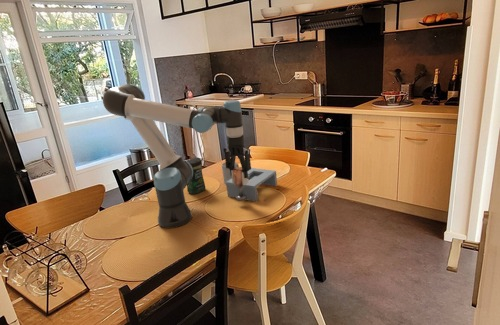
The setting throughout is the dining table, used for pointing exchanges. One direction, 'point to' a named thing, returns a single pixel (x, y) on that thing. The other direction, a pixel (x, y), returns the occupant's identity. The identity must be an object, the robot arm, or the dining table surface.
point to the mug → (227, 172)
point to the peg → (239, 183)
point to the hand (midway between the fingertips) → (239, 183)
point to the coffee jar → (196, 177)
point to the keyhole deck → (253, 183)
